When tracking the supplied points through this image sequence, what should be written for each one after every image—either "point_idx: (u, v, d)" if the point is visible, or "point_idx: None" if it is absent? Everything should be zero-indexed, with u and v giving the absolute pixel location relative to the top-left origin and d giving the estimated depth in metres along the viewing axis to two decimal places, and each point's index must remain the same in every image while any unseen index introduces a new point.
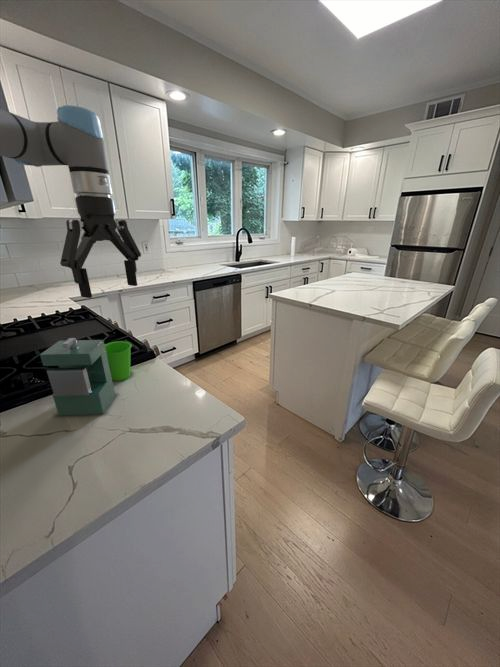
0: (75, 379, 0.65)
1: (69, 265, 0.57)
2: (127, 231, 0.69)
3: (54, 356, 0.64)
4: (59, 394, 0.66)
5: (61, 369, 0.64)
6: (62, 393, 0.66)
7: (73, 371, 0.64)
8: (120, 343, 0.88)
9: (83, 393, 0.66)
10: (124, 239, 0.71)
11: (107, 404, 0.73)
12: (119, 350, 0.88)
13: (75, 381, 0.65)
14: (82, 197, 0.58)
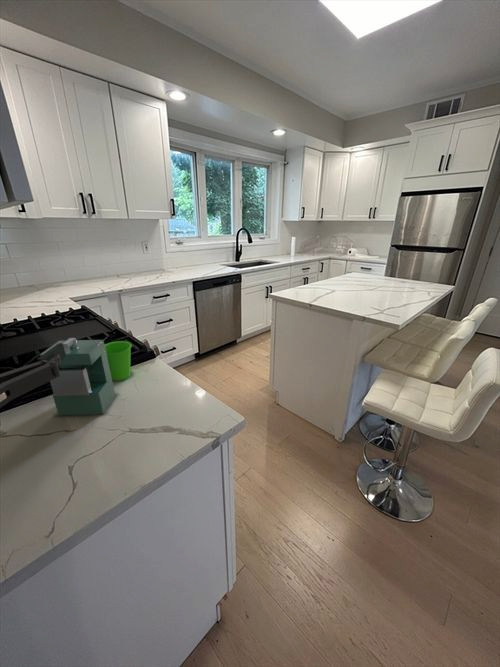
0: (75, 379, 0.65)
1: None
2: None
3: None
4: (59, 394, 0.66)
5: (61, 369, 0.64)
6: (62, 393, 0.66)
7: (73, 371, 0.64)
8: (120, 343, 0.88)
9: (83, 393, 0.66)
10: None
11: (107, 404, 0.73)
12: (119, 350, 0.88)
13: (75, 381, 0.65)
14: None
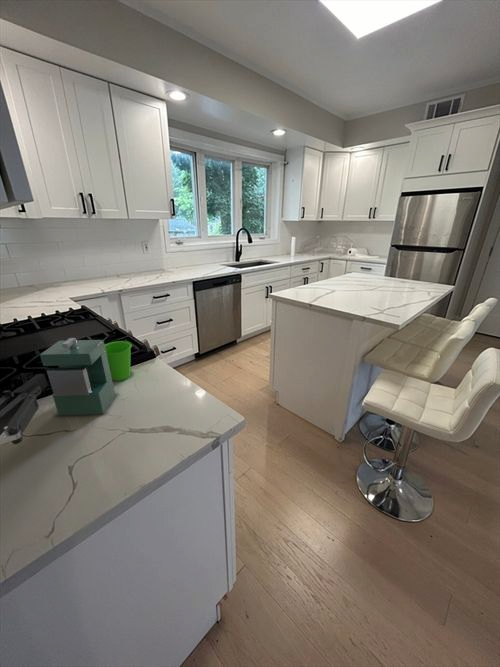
0: (75, 379, 0.65)
1: None
2: None
3: (54, 356, 0.64)
4: (59, 394, 0.66)
5: (61, 369, 0.64)
6: (62, 393, 0.66)
7: (73, 371, 0.64)
8: (120, 343, 0.88)
9: (83, 393, 0.66)
10: None
11: (107, 404, 0.73)
12: (119, 350, 0.88)
13: (75, 381, 0.65)
14: None
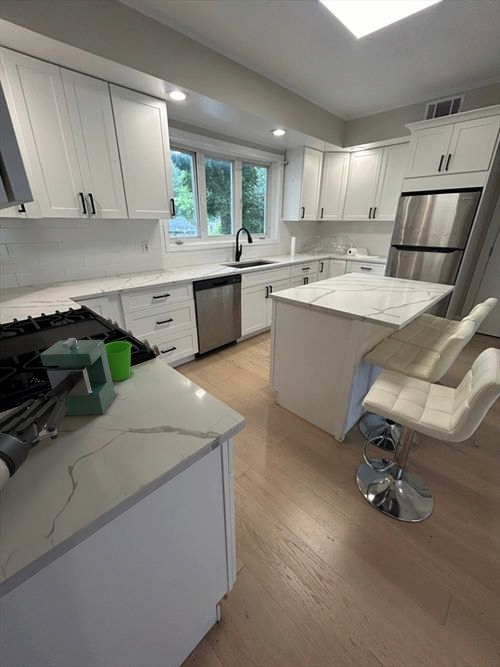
0: (75, 379, 0.65)
1: None
2: None
3: (54, 356, 0.64)
4: None
5: (61, 369, 0.64)
6: None
7: (73, 371, 0.64)
8: (120, 343, 0.88)
9: (83, 393, 0.66)
10: None
11: (107, 404, 0.73)
12: (119, 350, 0.88)
13: (75, 381, 0.65)
14: None
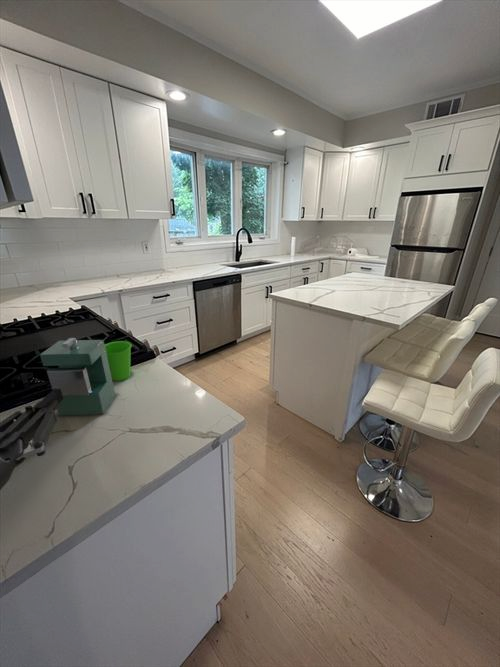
0: (75, 379, 0.65)
1: None
2: None
3: (54, 356, 0.64)
4: None
5: (61, 369, 0.64)
6: (62, 393, 0.66)
7: (73, 371, 0.64)
8: (120, 343, 0.88)
9: (83, 393, 0.66)
10: None
11: (107, 404, 0.73)
12: (119, 350, 0.88)
13: (75, 381, 0.65)
14: None
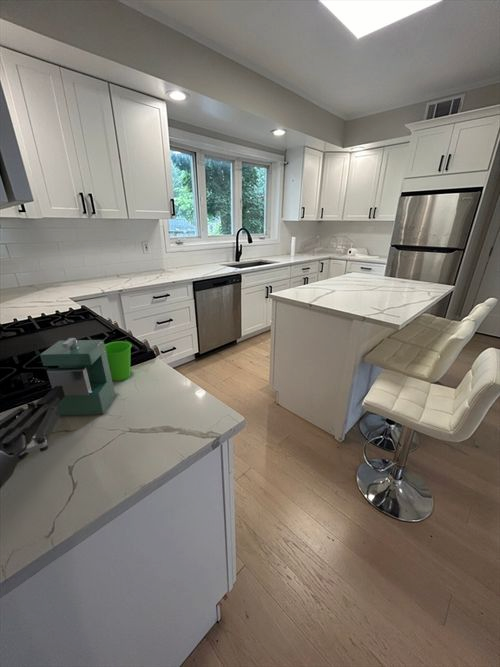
0: (75, 379, 0.65)
1: None
2: None
3: (54, 356, 0.64)
4: None
5: (61, 369, 0.64)
6: None
7: (73, 371, 0.64)
8: (120, 343, 0.88)
9: (83, 393, 0.66)
10: None
11: (107, 404, 0.73)
12: (119, 350, 0.88)
13: (75, 381, 0.65)
14: None
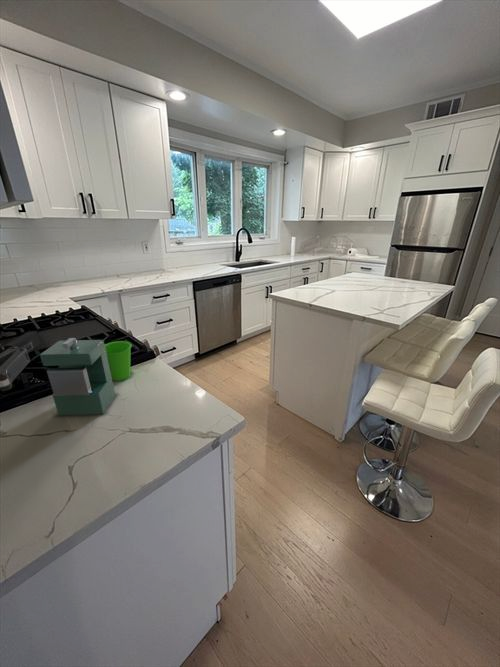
0: (75, 379, 0.65)
1: None
2: None
3: (54, 356, 0.64)
4: (59, 394, 0.66)
5: (61, 369, 0.64)
6: (62, 393, 0.66)
7: (73, 371, 0.64)
8: (120, 343, 0.88)
9: (83, 393, 0.66)
10: None
11: (107, 404, 0.73)
12: (119, 350, 0.88)
13: (75, 381, 0.65)
14: None
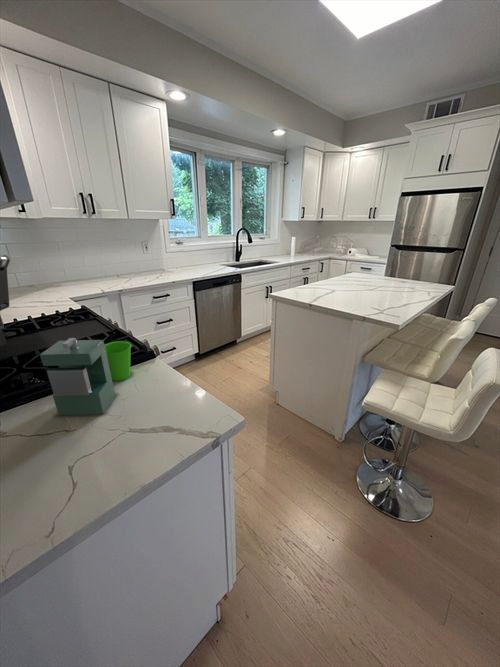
0: (75, 379, 0.65)
1: None
2: None
3: (54, 356, 0.64)
4: (59, 394, 0.66)
5: (61, 369, 0.64)
6: (62, 393, 0.66)
7: (73, 371, 0.64)
8: (120, 343, 0.88)
9: (83, 393, 0.66)
10: None
11: (107, 404, 0.73)
12: (119, 350, 0.88)
13: (75, 381, 0.65)
14: None
